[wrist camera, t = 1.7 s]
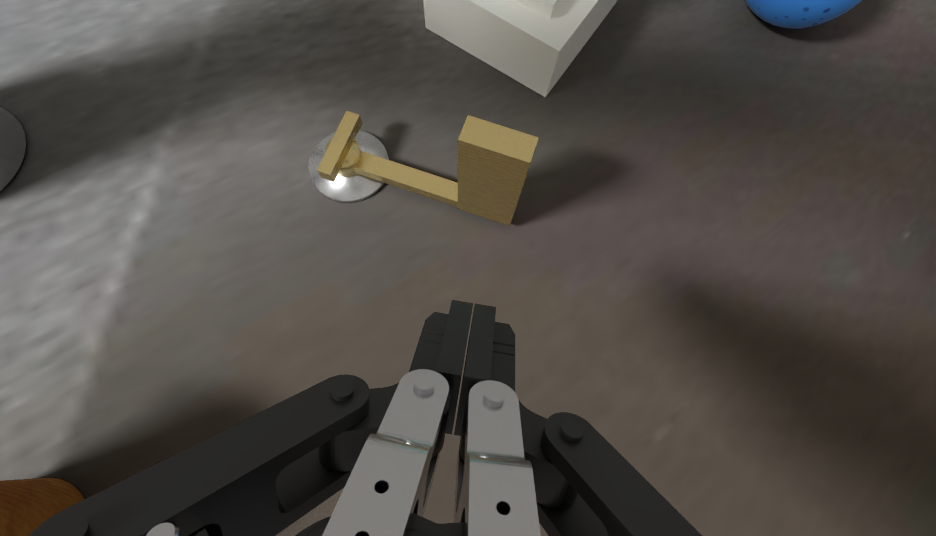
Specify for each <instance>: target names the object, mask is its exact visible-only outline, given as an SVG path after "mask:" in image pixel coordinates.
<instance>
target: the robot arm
mask: <svg viewBox="0 0 936 536" xmlns="http://www.w3.org/2000/svg"><path fill="white" fill-rule="evenodd" d="M25 148H26V139H25V133H24V130H23V128H22V126H21V124H20V122H19V121H18V120H17V119H16V118H15V116H13V115H12V114H11V113H9V112H8V111H6V110H5V109H3V108H2V107H0V191H1V190H2V189H3V188H4V187H5V186H6V185H7V184H8V183H9V182H10V181H11V180H12V178H13V177H14V175H15V174H16V172H17V171H18V169H19V168H20V165H21V163H22V160H23V158H24V155H25ZM472 306H473V303H467V302H461V301H455V300H452V303H451V307H450V311H449V314H444V313H437V312H434V313H433V314H432V315H430V316H429V317H428V318H427V319H426V320H425V323H424V326H423V329H422V332H421V336H420V339H419V342H418V345H417V348H416V351H415V355H414V358H413V361H412V364H411V367H410V370H409V373H407V374H406V375H404V376H403V377H402V379H401V380H400V382H399V383H397V384H395V385H393V386H389V387H385V388H375V389H369V387H368V385H367V384H366V382H365V381H364V380H362V379H361V378H359V377H356V376H353V375H337V376H334V377H331V378H328V379H326V380H324V381H322V382H320V383H318V384H316V385H314V386H312V387H310V388H308V389H306V390H304V391H302V392H300V393H298V394H296V395H294V396H292V397H290V398H288V399H286V400H284V401H282V402H280V403H278V404H276V405H274V406H272V407H270V408H268V409H266V410H264V411H262V412H260V413H258V414H256V415H254V416H252V417H250V418H248V419H246V420H244V421H242V422H240V423H238V424H236V425H234V426H232V427H230V428H228V429H226V430H224V431H222V432H220V433H217V434H215V435H213V436H211V437H209V438H207V439H205V440H203V441H201V442H199V443H197V444H195V445H193V446H191V447H189V448H187V449H185V450H183V451H181V452H179V453H177V454H175V455H173V456H171V457H169V458H167V459H165V460H163V461H161V462H159V463H157V464H155V465H153V466H151V467H149V468H147V469H145V470H143V471H141V472H139V473H137V474H135V475H133V476H131V477H129V478H127V479H125V480H123V481H121V482H119V483H117V484H115V485H113V486H111V487H109V488H107V489H105V490H103V491H101V492H99V493H96V494H94V495H92V496H90V497H88V498H86V499H84V500H82V501H80V502H78V503H76V504H74V505H72V506H70V507H68V508H66V509H64V510H62V511H60V512H59V513H57V514H55V515H53V516H52V517H50V518H49V519H47V520H46V521H45V522H43V523H42V524H41V525H39V526H38V527H37V528H36V529H35V530H34V531H33V532H32V533H31V534H30V535H29V536H275V535H277V534H278V533H279V532H281V531H282V530H284V529H285V528H287V527H288V526H289V525H291V524H292V523H294V522H295V521H297V520H298V519H299V518H301V517H302V516H304V515H305V514H307V513H308V512H309V511H311V510H312V509H314V508H315V507H317V506H318V505H319V504H321V503H322V502H324V501H325V500H326V499H328V498H329V497H331V496H332V495H334V494H335V493H336V492H338V491H339V490H341V489H342V488H344V490H343V492H342V494H341V496H340V498H339V500H338V503H337V505H336V507H335V509H334V511H333V513H332V516H330V517H327V518H325V519H322V520H320V521H318V522H316V523H314V524H312V525H311V526H309V527H307V528H306V529H304V530H302V531H301V532H300V533H298V534H297V535H296V536H541V535H540V527H539V523H540V524H541V525H542V527H543V528H544V530H545V531H546V532H547V534H548V535H549V536H702V535H701V534H700V533H699V532H698V531H697V530H696V529H695V528H694V527H693V526H692V525H691V524H690V523H689V522H688V521H687V520H686V519H685V518H684V517H683V516H682V515H681V514H680V513H679V512H678V511H677V510H676V509H675V508H674V507H673V506H672V505H671V504H670V503H669V502H668V501H667V500H666V499H665V498H664V497H663V496H662V495H661V494H660V493H659V492H658V491H657V490H656V489H655V488H654V487H653V486H652V485H651V484H650V483H649V482H648V481H647V480H646V479H645V478H644V477H643V476H642V475H641V474H640V473H639V472H638V471H637V470H636V469H635V468H634V467H633V466H632V465H631V464H630V463H629V462H628V461H627V460H626V459H625V458H624V457H623V456H622V455H621V454H620V453H619V452H618V451H617V450H616V449H615V448H614V447H613V446H612V445H611V444H610V443H609V442H608V441H607V440H606V439H605V438H604V437H603V436H602V435H600V434H599V433H598V432H597V431H596V430H595V429H594V428H593V427H592V426H591V425H590V424H589V423H588V422H587V421H586V420H584V419H583V418H581V417H579V416H577V415H575V414H572V413H566V412H560V413H556V414H553V415H551V416H550V417H549V418H548V419H546V418H544V417H542V416H540V415H537V414H535V413H533V412H531V411H530V410H528V409H527V408H526V407H525V406H523V405H522V403H521V402H520V401H519V400H518V397H517V395H516V393H515V334H514V332H513V330H512V329H511V327H510V325H509V324H505V323H498V322H495V312H496V307H492V306H486V305H480V304H475V306H474V312H473V318H472V324H471V330H470V336H469V342H468V348H467V355H466V361H465V368H464V374H463V380H462V387H461V393H460V400H459V406H458V413H457V419H456V426H455V432H454V435H459V436H461V439H460V446H459V452H458V458H457V470H456V489H455V508H454V523H447V524H437V523H434V522H432V521H430V520H428V519H425V518H423V514H424V510H425V507H426V503H427V499H428V496H429V492H430V488H431V485H432V481H433V477H434V474H435V470H436V466H437V463H438V459H439V453H440V451H441V449H442V447H443V443H444V437H445V433H447V434H452V430H453V424H454V418H455V412H456V406H457V400H458V394H459V387H460V381H461V375H462V369H463V363H464V357H465V350H466V344H467V338H468V331H469V325H470V319H471V313H472Z"/></svg>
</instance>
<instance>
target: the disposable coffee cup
mask: <svg viewBox="0 0 936 536" xmlns="http://www.w3.org/2000/svg"><path fill="white" fill-rule="evenodd" d="M82 500H84V498H83V496H82V495H81V493H80V492H79V491H78V490H77V489H76V488H75V487H74V486H73V485H72V484H70V483H69V482H67V481H64V480H61V479H58V478H49V477H47V478H37V479H23V480H6V481H0V536H29V535H30V534H31V533H32V532H33V531H34V530H35V529H36V528H37V527H38V526H39V525H41V524H42V523H43V522H45V521H46V520H47V519H49V518H50V517H52V516H53V515H55V514H57V513H59V512H60V511H62V510H64V509H66V508H68V507H70V506H72V505H74V504H76V503H78V502H80V501H82Z"/></svg>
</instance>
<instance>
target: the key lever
mask: <svg viewBox="0 0 936 536" xmlns="http://www.w3.org/2000/svg"><path fill="white" fill-rule="evenodd" d="M362 124H363V123H362V120H361V117H360V115H358V114H355V113H352V112H349V111H346V113H345V115H344V117H343V119H342V121H341V123H340V125H339V127H338V129H337V131H336V133H335V135H334V137H333V138H332V139H331V140H330V141H329V142H328V143H327V145H326V148H325V155H324V157H323V159H322V161H321V163H320V165H319V167H318V169H317V172H318V174H319V175H320V177H321V178H324V179H327V180H330V181H333V182H334V181H335V179H336V177H337V175H340V176H343V177H352V176H355V175H357V174H360V175H363V176H366V177H369V178H372V179H375V180H378V181H381V182H384V183H387V184H390V185H393V186H396V187H399V188H402V189H405V190H408V191H411V192H414V193H417V194H420V195H423V196H426V197H429V198H432V199H435V200H438V201H441V202H444V203H447V204H450V205H453V206H456V207H458V209H460V210H463V211H466V212H469V213H472V214H475V215H478V216H481V217H484V218H487V219H490V220H493V221H496V222H499V223H502V224H505V225H508V226H510V224H511V221H512V218H513V215H514V212H515V209H516V206H517V203H518V200H519V197H520V194H521V191H522V188H523V185H524V182H525V179H526V176H527V173H528V170H529V167H530V163H531V160H532V157H533V154H534V151H535V148H536V145H537V142H538V139H539V138H538V137H535V136H532V135H529V134H526V133H523V132H520V131H517V130H513V129H510V128H507V127H504V126H501V125H498V124H495V123H491V122H488V121H485V120H482V119H479V118H476V117H473V116H469V115H468V116H467V119H466V121H465V124H464V126H463V129H462V131H461V133H460V136H459V138H458V183H457V182H454V181H451V180H448V179H445V178H442V177H439V176H436V175H433V174H430V173H427V172H423V171H420V170H417V169H414V168H411V167H408V166H405V165H402V164H399V163H396V162H393V161H390V160H387V159H384V158H381V157H378V156H375V155H372V154H369V153H366V152H363V151H361V150H360V147H359V145H358V143H357V141H356V140H355V138H356V136H357V134H358V132H359V130H360V128H361V126H362Z"/></svg>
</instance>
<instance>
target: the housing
mask: <svg viewBox="0 0 936 536" xmlns="http://www.w3.org/2000/svg"><path fill="white" fill-rule="evenodd" d="M423 2H424V14H425V26H426V28H427V29H429V30H430V31H432V32H434V33H435V34H437V35H439V36H441V37H442V38H444V39H446V40H447V41H449V42H451V43H453V44H454V45H456V46H458V47H459V48H461V49H463V50H465V51H466V52H468V53H470V54H471V55H473V56H475V57H477V58H478V59H480V60H482V61H483V62H485V63H487V64H489V65H490V66H492V67H494V68H495V69H497V70H499V71H501V72H502V73H504V74H506V75H508V76H509V77H511V78H513V79H514V80H516V81H518V82H520V83H521V84H523V85H525V86H526V87H528V88H530V89H532V90H533V91H535V92H537V93H538V94H540V95H542V96H544V97H546V96H547V95H548V93H549V92H550V91H551V89H552V88H553V87H554V85H555V84H556V83H557V81H558V80H559V79H560V77H561V76H562V75H563V73H564V72H565V71H566V69H567V68H568V67H569V65H570V64H571V63H572V61H573V60H574V59H575V57H576V56H577V55H578V53H579V52H580V51H581V49H582V48H583V47H584V45H585V44H586V42H587V41H588V40H589V38H590V37H591V36H592V34H593V33H594V32H595V30H596V29H597V28H598V26H599V25H600V24H601V22H602V21H603V20H604V18H605V17H606V16H607V14H608V13H609V12H610V10H611V9H612V8H613V6H614V5H615V4H616V2H617V0H423Z"/></svg>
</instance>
